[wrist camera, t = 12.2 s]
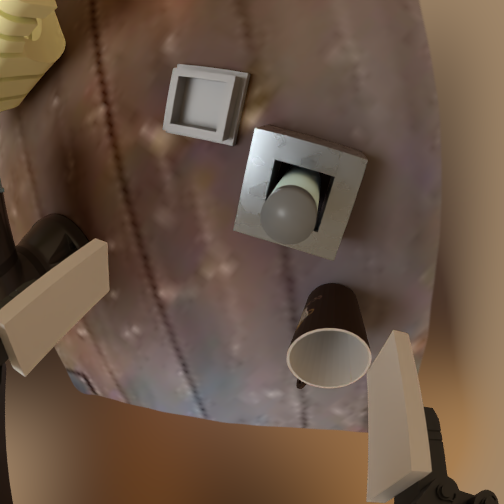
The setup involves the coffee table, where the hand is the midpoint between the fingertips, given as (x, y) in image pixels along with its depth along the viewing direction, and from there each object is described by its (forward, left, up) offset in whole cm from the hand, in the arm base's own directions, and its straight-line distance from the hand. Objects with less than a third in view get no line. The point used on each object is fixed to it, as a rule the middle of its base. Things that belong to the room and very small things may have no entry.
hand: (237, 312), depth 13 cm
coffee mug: (+8, -15, -23) cm, 28 cm away
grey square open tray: (-11, +6, -23) cm, 26 cm away
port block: (+1, 0, -23) cm, 23 cm away
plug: (+1, 0, -23) cm, 23 cm away
